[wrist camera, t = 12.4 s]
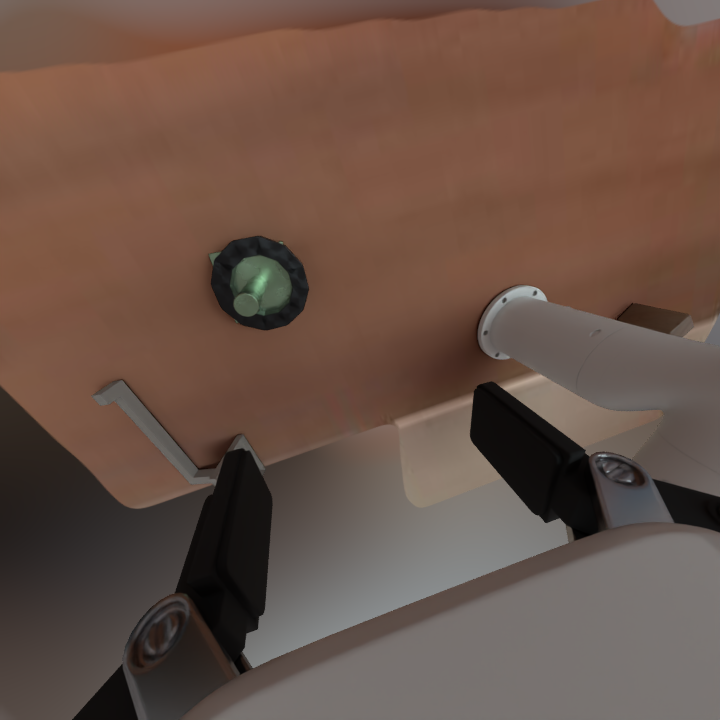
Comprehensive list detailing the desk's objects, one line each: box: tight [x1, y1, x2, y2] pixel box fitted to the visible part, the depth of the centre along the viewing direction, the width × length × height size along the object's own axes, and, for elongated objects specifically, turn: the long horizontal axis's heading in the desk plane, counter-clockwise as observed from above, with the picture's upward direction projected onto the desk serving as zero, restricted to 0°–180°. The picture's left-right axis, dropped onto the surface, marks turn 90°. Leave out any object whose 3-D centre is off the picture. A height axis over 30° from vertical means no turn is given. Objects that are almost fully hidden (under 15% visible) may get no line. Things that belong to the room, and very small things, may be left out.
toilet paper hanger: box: [92, 380, 266, 486], centre depth 36 cm, size 23×9×8 cm, turn 14°
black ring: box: [211, 236, 309, 330], centre depth 29 cm, size 10×10×2 cm
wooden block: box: [618, 303, 694, 337], centre depth 46 cm, size 4×4×8 cm
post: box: [208, 241, 292, 323], centre depth 26 cm, size 8×8×11 cm
